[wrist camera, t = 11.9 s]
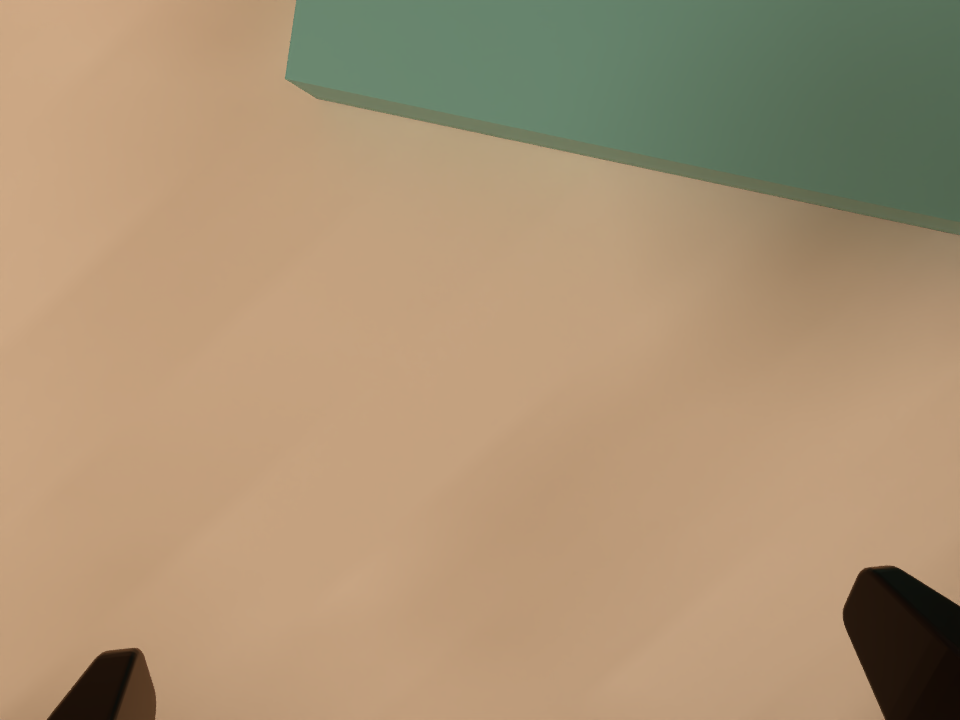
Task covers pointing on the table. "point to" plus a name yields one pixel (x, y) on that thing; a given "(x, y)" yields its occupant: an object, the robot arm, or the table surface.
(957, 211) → the jig
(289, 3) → the table surface
